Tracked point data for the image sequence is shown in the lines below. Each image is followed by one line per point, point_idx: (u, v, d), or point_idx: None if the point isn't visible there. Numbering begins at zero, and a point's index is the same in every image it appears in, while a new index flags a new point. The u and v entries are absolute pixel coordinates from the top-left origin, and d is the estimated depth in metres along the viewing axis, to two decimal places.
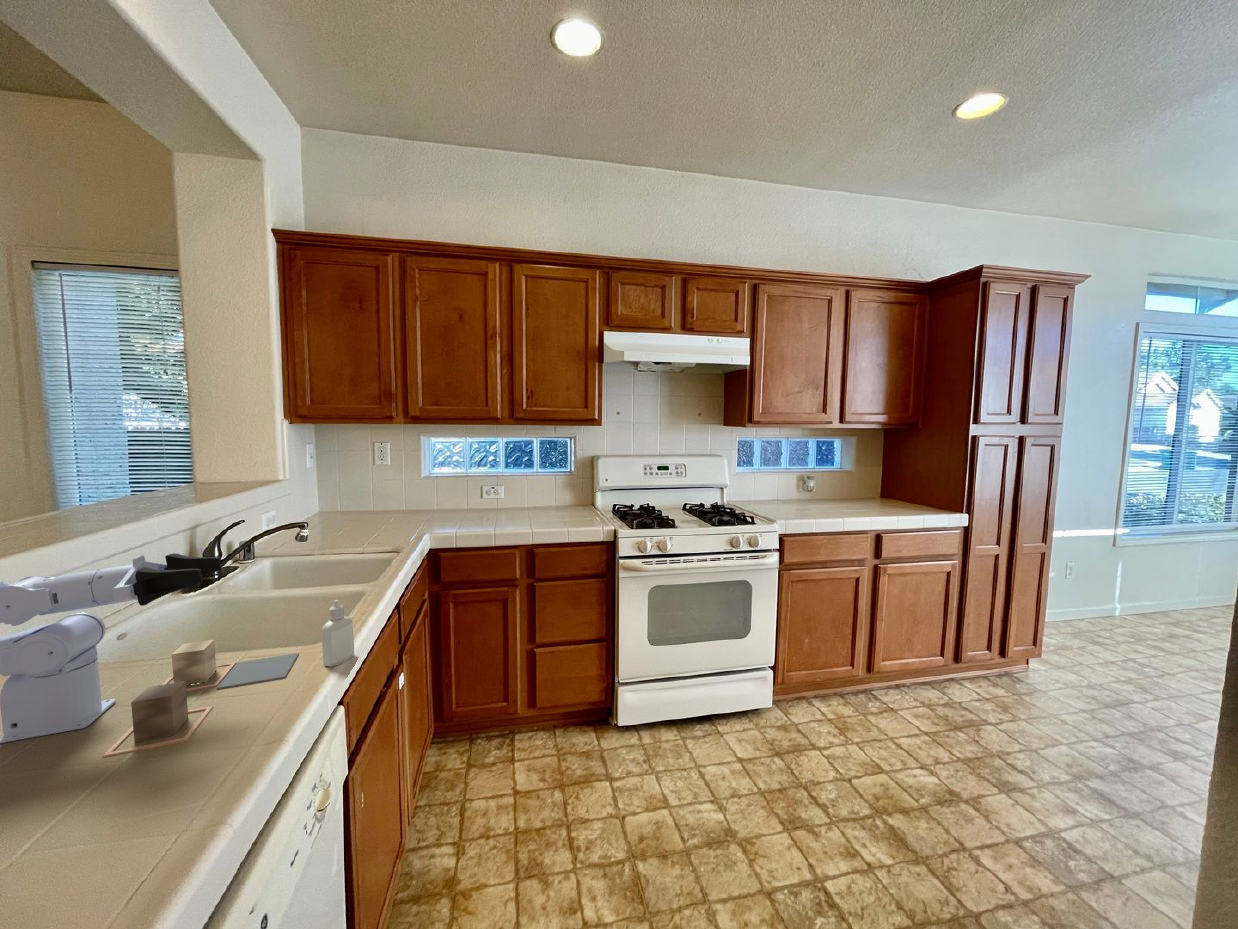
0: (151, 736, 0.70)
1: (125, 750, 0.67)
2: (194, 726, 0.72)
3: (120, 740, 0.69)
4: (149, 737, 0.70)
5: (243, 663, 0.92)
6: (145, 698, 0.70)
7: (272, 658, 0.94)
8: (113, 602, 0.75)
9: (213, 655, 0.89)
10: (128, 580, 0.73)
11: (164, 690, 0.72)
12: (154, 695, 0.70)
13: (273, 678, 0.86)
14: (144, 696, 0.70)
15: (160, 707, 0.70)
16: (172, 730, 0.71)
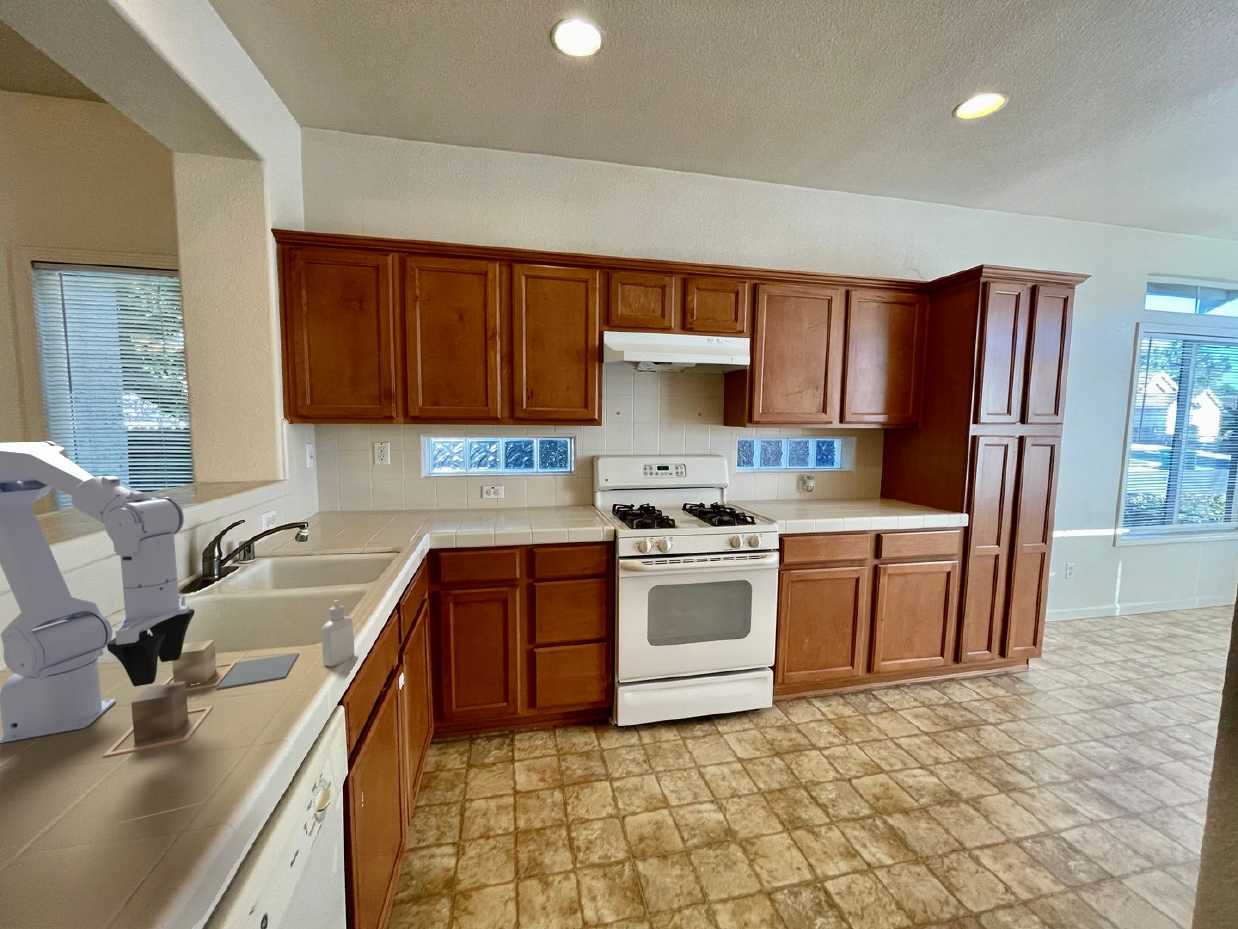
0: (151, 736, 0.70)
1: (125, 750, 0.67)
2: (194, 726, 0.72)
3: (120, 740, 0.69)
4: (149, 737, 0.70)
5: (243, 663, 0.92)
6: (145, 698, 0.70)
7: (272, 658, 0.94)
8: (124, 597, 0.68)
9: (213, 655, 0.89)
10: (148, 626, 0.67)
11: (164, 690, 0.72)
12: (154, 695, 0.70)
13: (273, 678, 0.86)
14: (144, 696, 0.70)
15: (160, 707, 0.70)
16: (172, 730, 0.71)
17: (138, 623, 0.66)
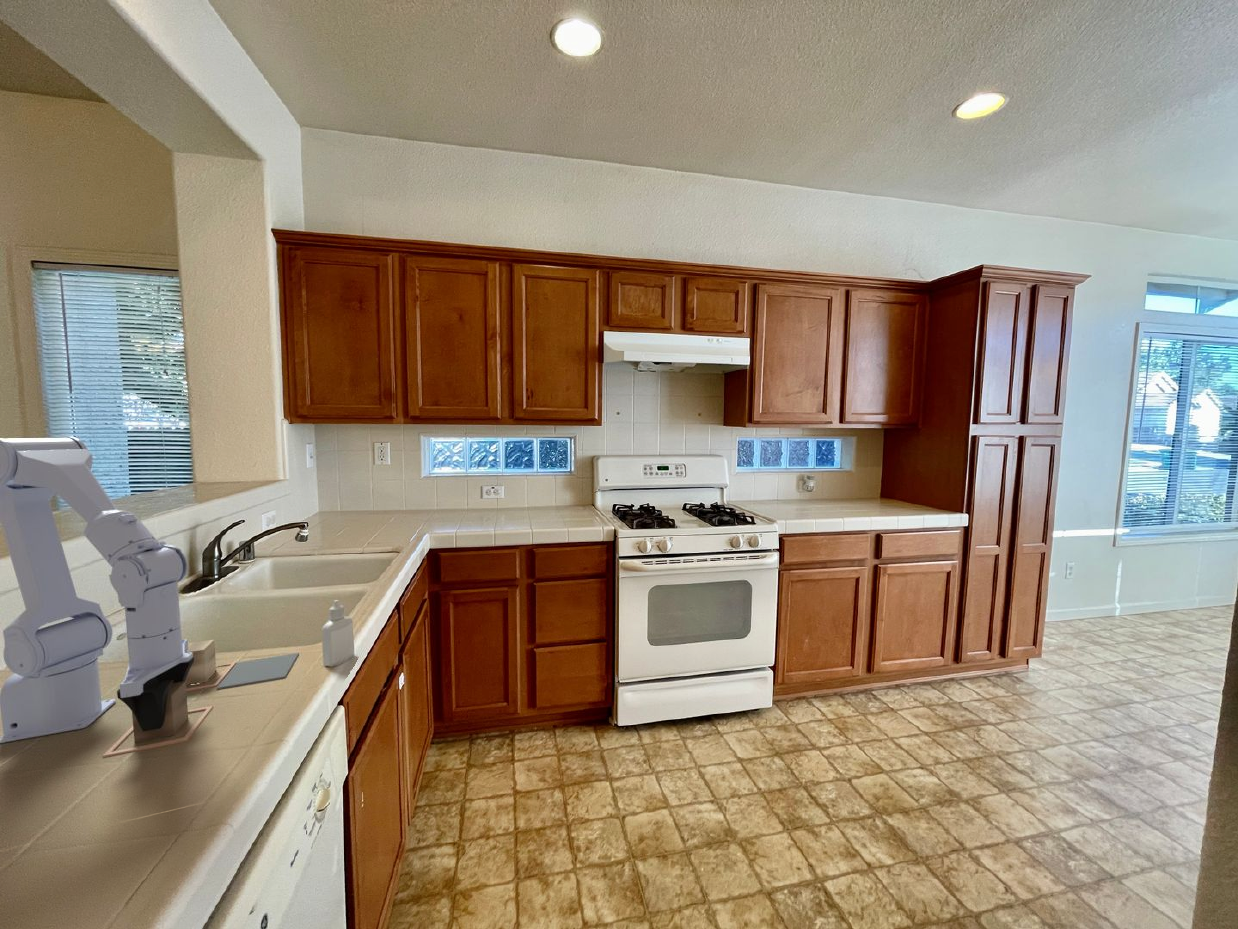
0: (151, 736, 0.70)
1: (125, 750, 0.67)
2: (194, 726, 0.72)
3: (120, 740, 0.69)
4: (149, 737, 0.70)
5: (243, 663, 0.92)
6: None
7: (272, 658, 0.94)
8: (128, 647, 0.69)
9: (213, 655, 0.89)
10: (152, 677, 0.67)
11: None
12: None
13: (273, 678, 0.86)
14: None
15: None
16: (172, 730, 0.71)
17: (142, 674, 0.67)
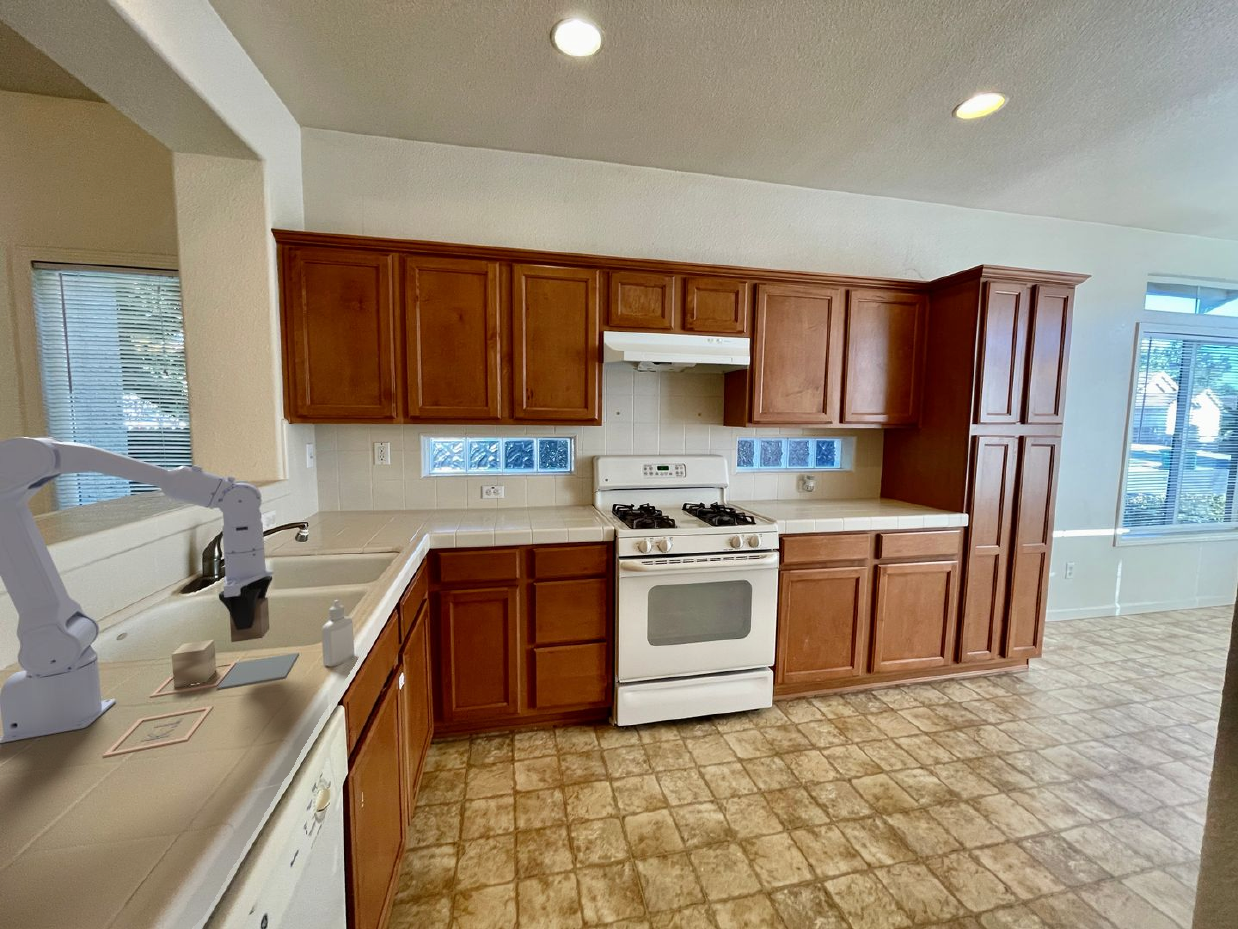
0: (244, 638, 0.85)
1: (125, 750, 0.67)
2: (194, 726, 0.72)
3: (120, 740, 0.69)
4: (242, 638, 0.85)
5: (243, 663, 0.92)
6: None
7: (272, 658, 0.94)
8: (225, 561, 0.84)
9: (213, 655, 0.89)
10: (246, 584, 0.83)
11: None
12: None
13: (273, 678, 0.86)
14: None
15: None
16: (260, 634, 0.86)
17: (238, 581, 0.82)
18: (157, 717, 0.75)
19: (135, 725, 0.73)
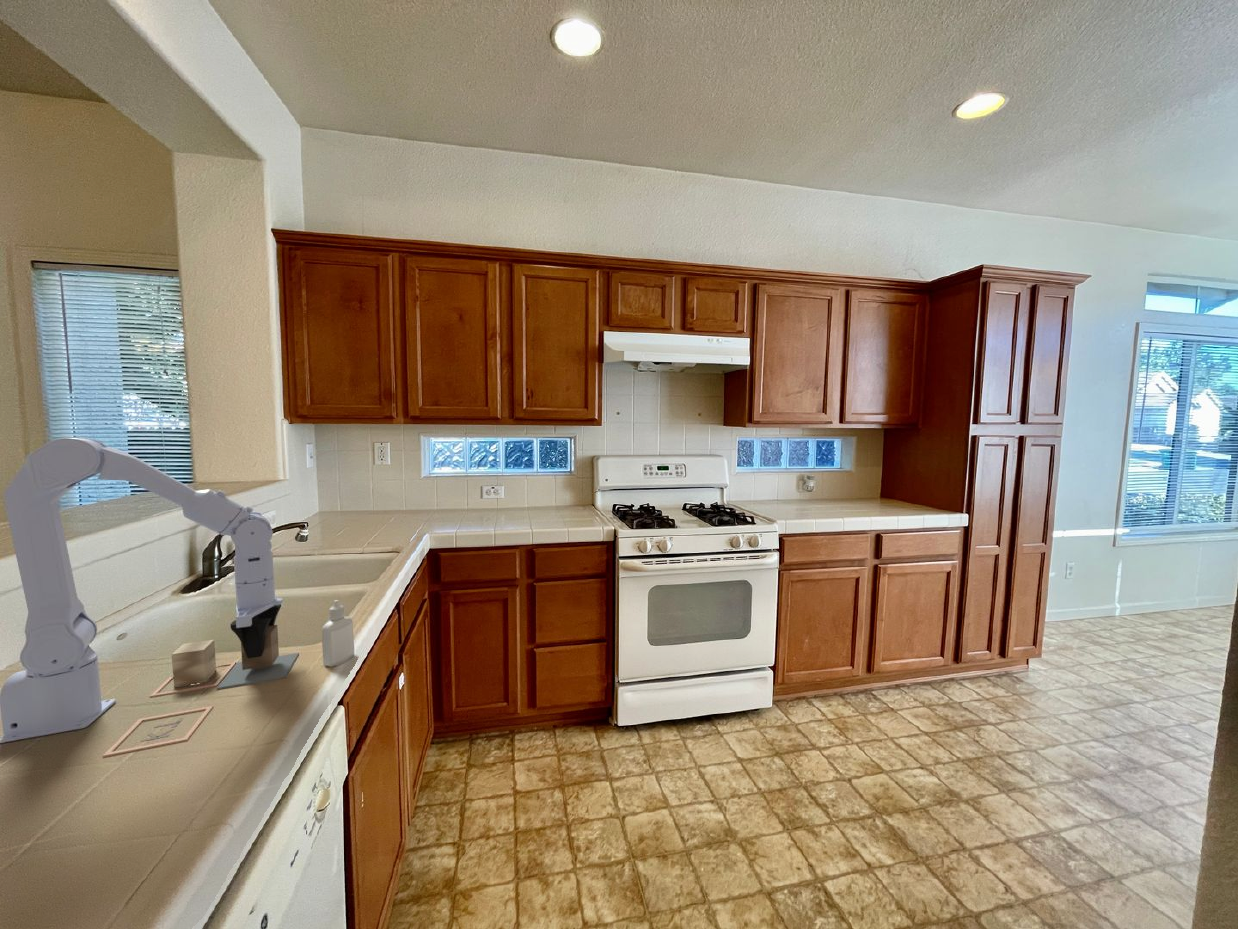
0: (255, 665, 0.87)
1: (125, 750, 0.67)
2: (194, 726, 0.72)
3: (120, 740, 0.69)
4: (253, 666, 0.87)
5: None
6: None
7: None
8: (236, 591, 0.86)
9: (213, 655, 0.89)
10: (257, 614, 0.85)
11: None
12: None
13: (273, 678, 0.86)
14: None
15: None
16: (270, 661, 0.88)
17: (250, 611, 0.85)
18: (157, 717, 0.75)
19: (135, 725, 0.73)
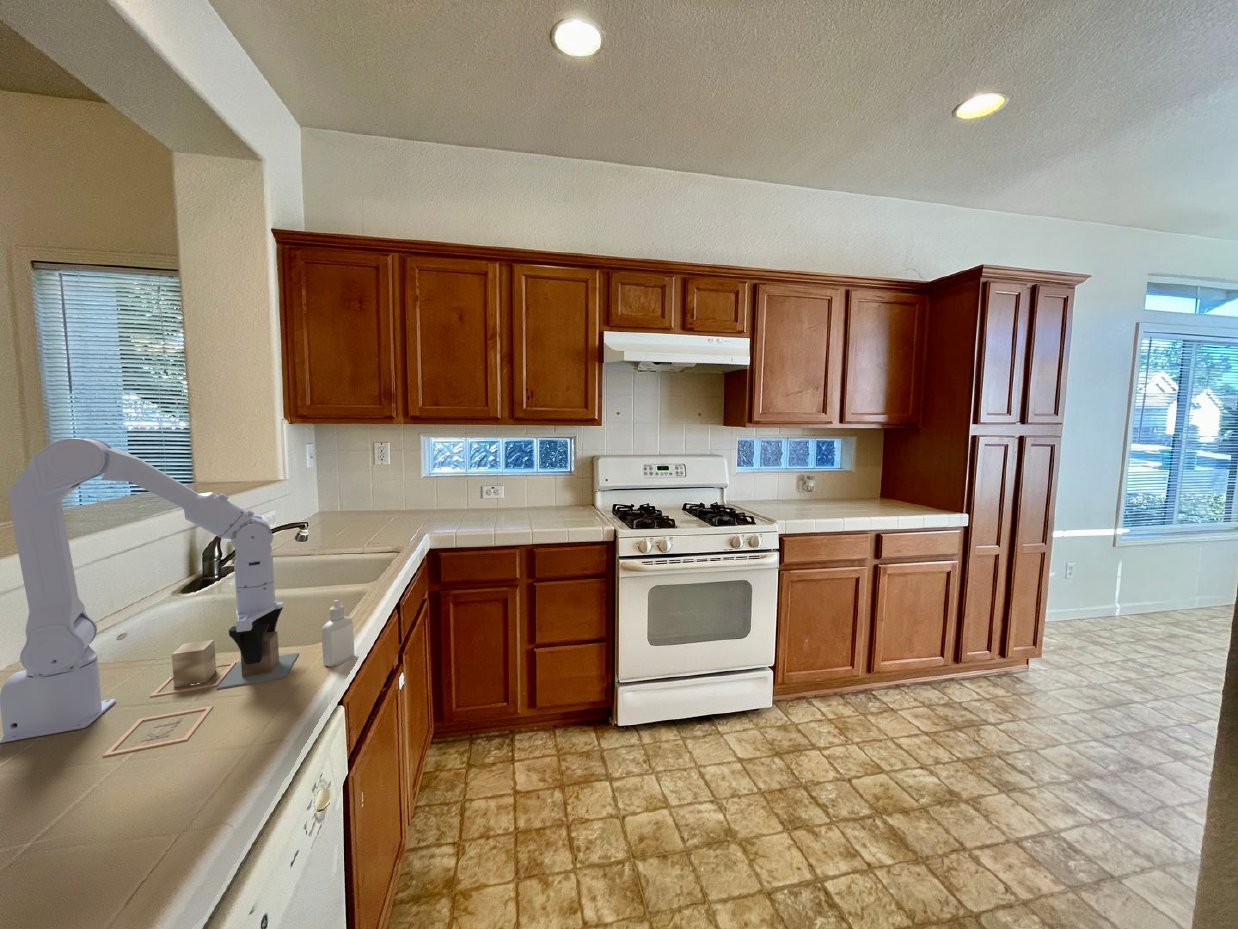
0: (254, 672, 0.88)
1: (125, 750, 0.67)
2: (194, 726, 0.72)
3: (120, 740, 0.69)
4: (253, 673, 0.87)
5: None
6: None
7: None
8: (237, 595, 0.86)
9: (213, 655, 0.89)
10: (257, 618, 0.85)
11: None
12: None
13: (273, 678, 0.86)
14: None
15: None
16: (270, 668, 0.88)
17: (250, 615, 0.85)
18: (157, 717, 0.75)
19: (135, 725, 0.73)
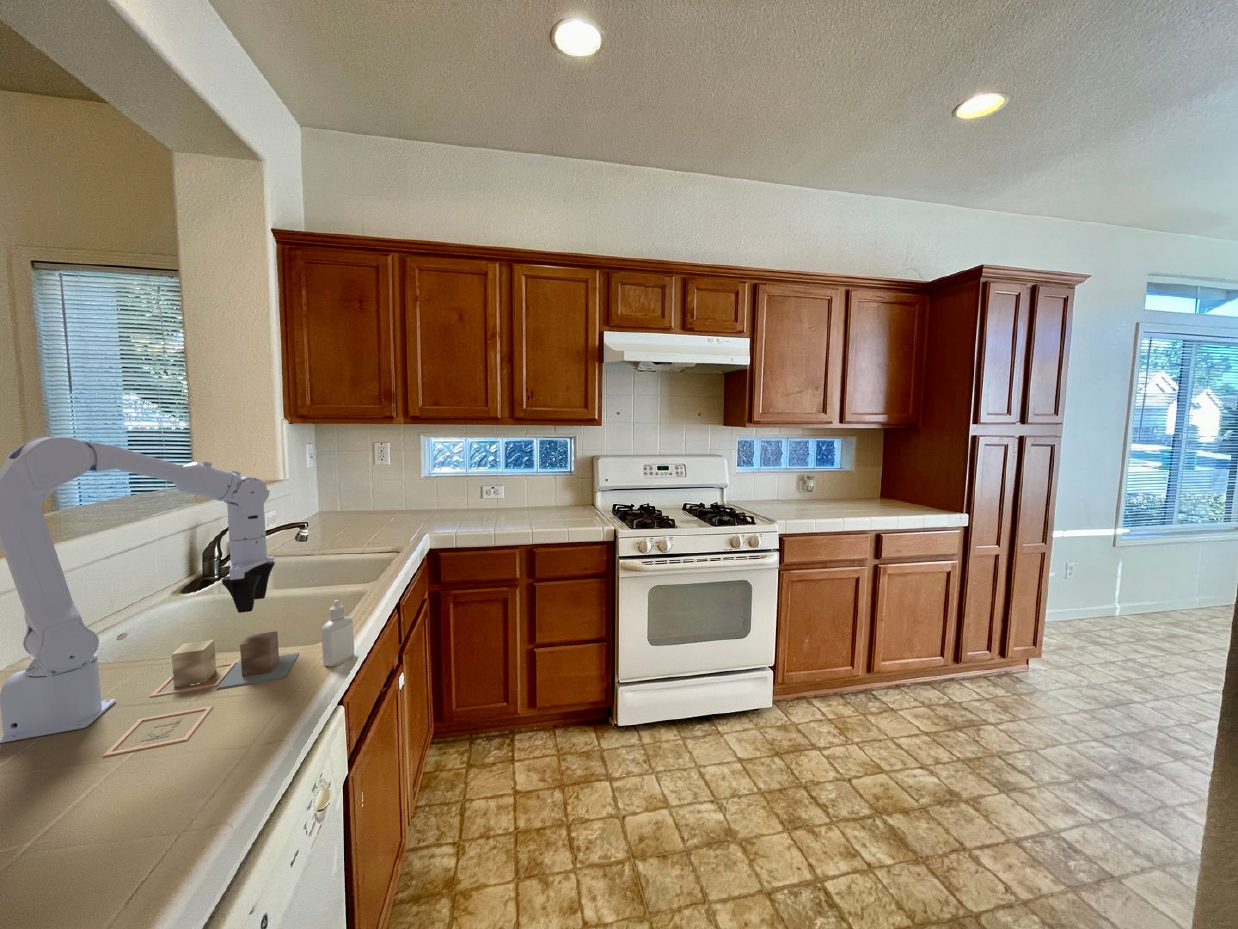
0: (254, 672, 0.88)
1: (125, 750, 0.67)
2: (194, 726, 0.72)
3: (120, 740, 0.69)
4: (253, 673, 0.87)
5: None
6: (249, 642, 0.87)
7: None
8: (230, 547, 0.92)
9: (213, 655, 0.89)
10: (249, 568, 0.91)
11: (262, 637, 0.90)
12: (256, 640, 0.88)
13: (273, 678, 0.86)
14: (248, 640, 0.88)
15: (261, 649, 0.88)
16: (270, 668, 0.88)
17: (242, 566, 0.90)
18: (157, 717, 0.75)
19: (135, 725, 0.73)
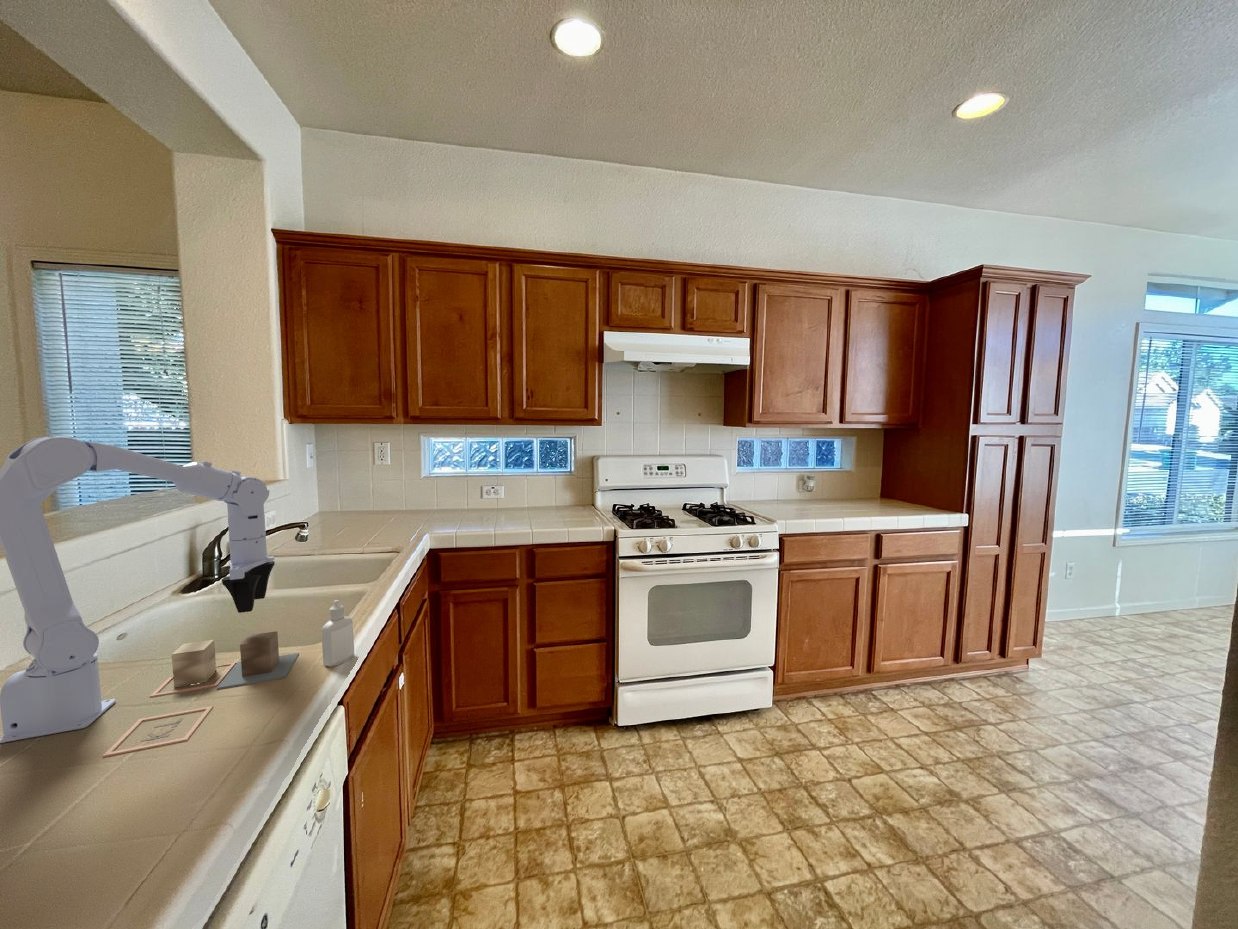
0: (254, 672, 0.88)
1: (125, 750, 0.67)
2: (194, 726, 0.72)
3: (120, 740, 0.69)
4: (253, 673, 0.87)
5: None
6: (249, 642, 0.87)
7: None
8: (230, 547, 0.92)
9: (213, 655, 0.89)
10: (249, 568, 0.91)
11: (262, 637, 0.90)
12: (256, 640, 0.88)
13: (273, 678, 0.86)
14: (248, 640, 0.88)
15: (261, 649, 0.88)
16: (270, 668, 0.88)
17: (242, 566, 0.90)
18: (157, 717, 0.75)
19: (135, 725, 0.73)
